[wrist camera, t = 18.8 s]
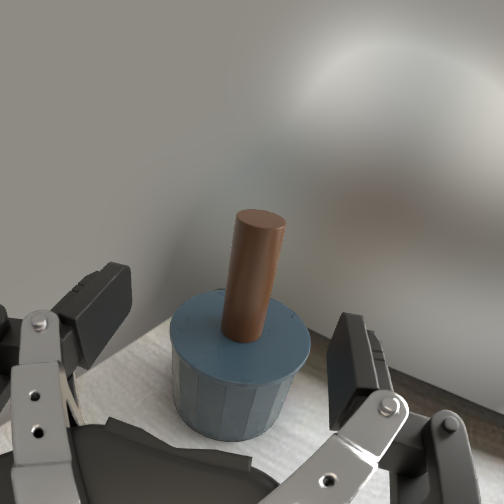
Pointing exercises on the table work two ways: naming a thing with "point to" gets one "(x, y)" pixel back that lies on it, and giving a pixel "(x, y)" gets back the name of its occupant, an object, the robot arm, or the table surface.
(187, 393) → the pot
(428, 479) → the robot arm
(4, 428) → the table surface
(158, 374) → the table surface
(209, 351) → the lid
